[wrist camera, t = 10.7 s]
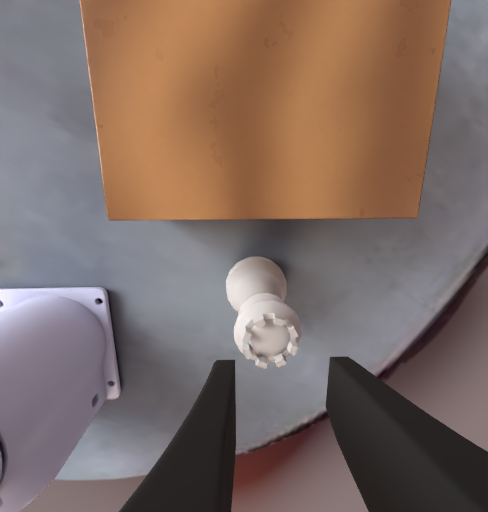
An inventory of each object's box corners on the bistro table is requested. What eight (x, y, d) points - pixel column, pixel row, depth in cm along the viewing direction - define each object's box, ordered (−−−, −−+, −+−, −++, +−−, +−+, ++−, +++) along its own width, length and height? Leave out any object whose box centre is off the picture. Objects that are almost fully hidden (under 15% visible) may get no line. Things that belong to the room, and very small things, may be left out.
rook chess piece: (276, 247, 18) (310, 284, 10) (289, 302, 19) (329, 373, 11) (218, 263, 18) (206, 311, 10) (234, 316, 19) (234, 397, 11)
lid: (458, -114, 9) (473, -136, 9) (409, 217, 12) (418, 218, 11) (70, -132, 9) (58, -156, 8) (113, 219, 11) (107, 220, 11)
